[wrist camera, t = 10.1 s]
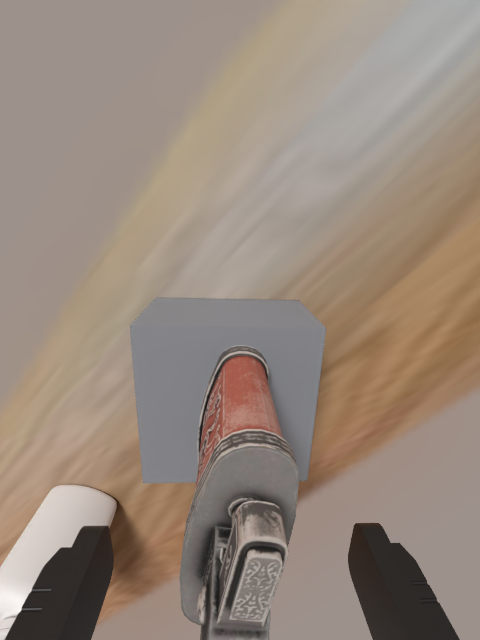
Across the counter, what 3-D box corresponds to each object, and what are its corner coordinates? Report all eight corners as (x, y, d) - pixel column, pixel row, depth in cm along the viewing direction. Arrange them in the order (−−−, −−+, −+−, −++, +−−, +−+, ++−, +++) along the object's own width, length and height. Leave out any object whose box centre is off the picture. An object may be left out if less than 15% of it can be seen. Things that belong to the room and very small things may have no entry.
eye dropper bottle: (92, 530, 27) (-6, 758, 15) (41, 495, 25) (-109, 716, 14) (126, 505, 26) (50, 723, 15) (76, 467, 25) (-52, 676, 13)
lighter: (245, 471, 18) (268, 745, 9) (189, 464, 18) (149, 741, 8) (277, 351, 16) (357, 542, 6) (214, 339, 15) (196, 524, 6)
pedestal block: (298, 300, 21) (326, 328, 16) (287, 420, 24) (307, 480, 19) (156, 297, 21) (129, 325, 15) (162, 420, 24) (143, 483, 18)
